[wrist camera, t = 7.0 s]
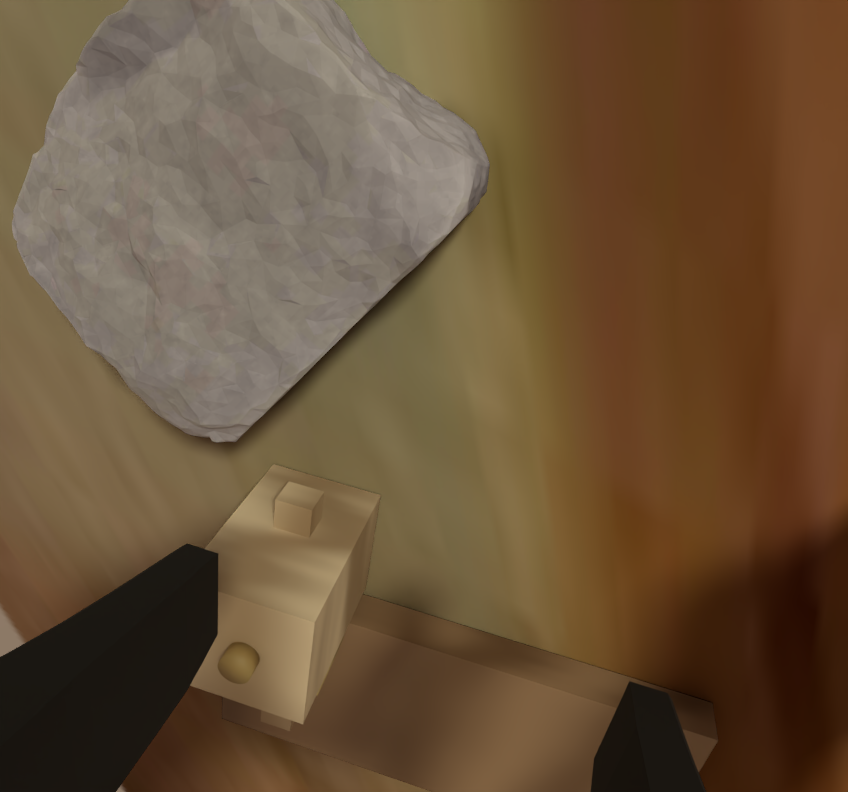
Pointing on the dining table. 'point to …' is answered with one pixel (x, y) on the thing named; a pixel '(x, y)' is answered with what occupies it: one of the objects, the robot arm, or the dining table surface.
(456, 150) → the stone block
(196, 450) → the dining table surface
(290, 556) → the block
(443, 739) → the board
